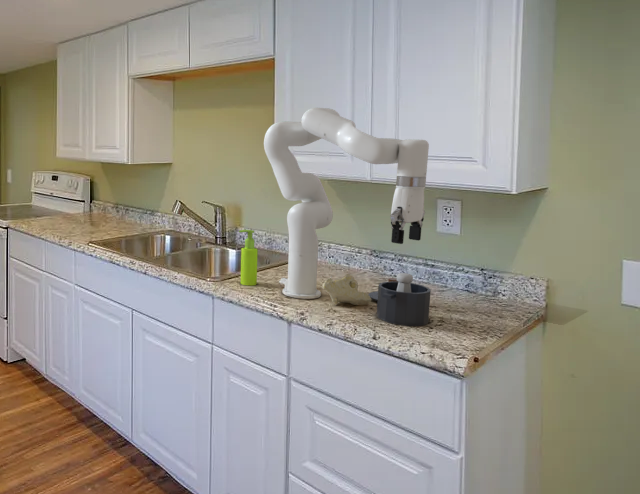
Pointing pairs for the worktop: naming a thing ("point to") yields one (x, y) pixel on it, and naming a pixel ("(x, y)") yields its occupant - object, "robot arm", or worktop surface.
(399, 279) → the salt shaker
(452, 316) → the worktop surface
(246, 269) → the soap dispenser
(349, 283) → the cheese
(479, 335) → the worktop surface
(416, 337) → the worktop surface
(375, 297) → the lid
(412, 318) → the pot
